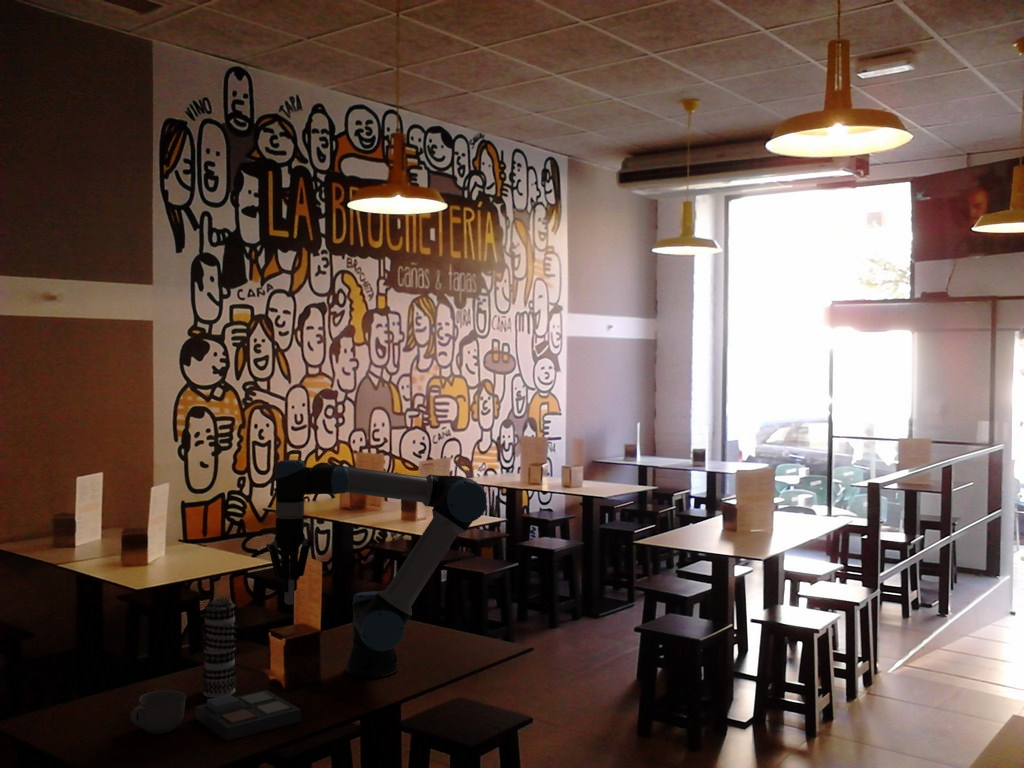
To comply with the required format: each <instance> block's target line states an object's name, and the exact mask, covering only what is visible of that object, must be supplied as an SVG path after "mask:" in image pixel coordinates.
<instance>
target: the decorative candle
mask: <svg viewBox="0 0 1024 768" xmlns="http://www.w3.org/2000/svg"><path fill="white" fill-rule="evenodd" d="M235 607H236V604H235V603H234V602H233V601H232V600H231V599H230V598H215V599H212V600H210V601H209V602H208V604H207V605H205V606H204V608H205V617H204V620H203V621H202V622H201V623H202V624H201V625H202V627H201V629H202V630H201V631H202V632H203V634H202V644H203V645H204V646H203V647H202V650H203V652H204V655H205V657H204V659H205V660H204V667H203V668H202V669H203V670H202V671H203V672H204V673H202V677H203V678H204V679H203V680H202V685H203V686H202V689H203V691H202V692H203V693H202V694H203V695H202V696H205V697H207V698H210V699H212V697H213V698H216V697H220V696H225V695H229V694H230V695H233V694H234V693H235V692H236V685H237V684H236V681H237V678H236V676H235V675H236V673H237V672H236V670H235V669H237V665H236V664H235V663H236V662H235V650H236V649H237V643H235V642H237V641H238V640H237V639H238V638H236V637H235V636H236V635H237V634H238V631H237V630H236V629H238V625H236V624H235V623H236V616H235Z"/></svg>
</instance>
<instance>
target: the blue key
mask: <svg viewBox="0 0 1024 768" xmlns="http://www.w3.org/2000/svg"><path fill="white" fill-rule="evenodd" d="M235 697H236V696H233V694H231V695H230V694H229V695H225V696H220V697H216V698H208V699H206V704H207V709H208V710H210V711H211V712H213V713H214V714H219V713H223V712H227V711H232V710H236V709H240V700H238V699H237V698H235Z"/></svg>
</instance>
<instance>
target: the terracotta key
mask: <svg viewBox="0 0 1024 768" xmlns="http://www.w3.org/2000/svg"><path fill="white" fill-rule="evenodd" d="M222 719H223V720H224V721H226V722H227V723H229V724H230V725H232V724H236V723H240V722H244V721H248V720H252V719H256V716H255V715H253V714H252V713H250V712H248V711H247V710H240V711H236V712H232V713H228V714H224V715H222Z"/></svg>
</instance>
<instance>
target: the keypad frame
mask: <svg viewBox="0 0 1024 768" xmlns="http://www.w3.org/2000/svg"><path fill="white" fill-rule="evenodd" d="M261 692H263V693H265V694H267V695H269V696H270V697H272V698H273V701H268V702H264V703H260V704H256V705H252V706H249V705H248V704H246V703H244V702H243V701H241V697H244V696H248V695H253V694H257V693H261ZM234 697H235V698H237V699H238V700H240V709H236V710H232V711H227V712H223V713H219V714H214V713H213V712H211V711H210V710H208V709H207V703H205V704H201V705H197V706H195V720H197V721H198V722H200V723H201V724H202V725H204V726H206V728H208V729H210V730H211V731H212V732H214V733H215V734H217V735H218V736H220V737H221V738H223V739H224V740H225V741H227V742H229V741H233V740H235V739H240V738H244V737H247V736H252V735H256V734H259V733H262V732H267V731H270V730H274V729H279V728H281V727H286V726H289V725H293V724H296V722H297V723H300V721H301V722H302V709H301V708H300V707H298V706H296V705H294V704H292V703H290V702H289V701H287V700H285V699H283V698H281V697H280V696H278V695H276V694H275V693H273V692H271V691H269V690H267V689H266V690H260V691H256V692H251V693H248V694H243V695H239V696H234ZM277 701H279V702H281V703H283V704H285V705H286V706H288V707H290V710H287V711H283V712H279V713H275V714H271V715H268V716H266V715H264V714H263V713H261V712H259V711H258V710H256V707H257V706H261V705H265V704H269V703H273V702H277ZM240 710H247V711H248V712H250V713H252V714H253V715H255V716H256V719H252V720H248V721H244V722H240V723H236V724H232V725H230V724H229V723H227V722H226V721H224V720H223V719H222V715H224V714H228V713H232V712H236V711H240Z"/></svg>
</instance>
